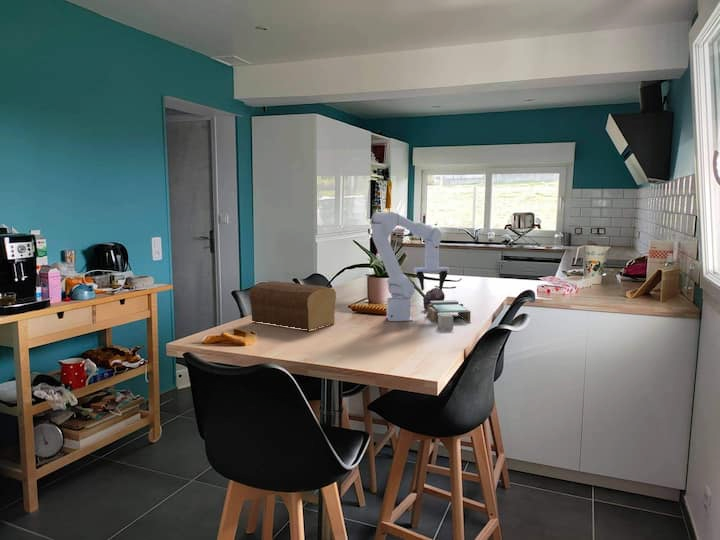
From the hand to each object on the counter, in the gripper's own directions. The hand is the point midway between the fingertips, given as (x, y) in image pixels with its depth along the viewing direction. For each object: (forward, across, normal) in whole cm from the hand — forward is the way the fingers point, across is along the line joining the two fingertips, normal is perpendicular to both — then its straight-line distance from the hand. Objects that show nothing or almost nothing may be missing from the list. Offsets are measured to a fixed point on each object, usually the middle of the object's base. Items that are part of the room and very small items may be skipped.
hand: (431, 289), depth 225 cm
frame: (+10, +5, -9) cm, 14 cm away
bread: (+11, -57, -10) cm, 59 cm away
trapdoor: (+7, +5, -8) cm, 12 cm away
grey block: (+8, 0, -25) cm, 26 cm away
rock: (+11, +4, +12) cm, 17 cm away
